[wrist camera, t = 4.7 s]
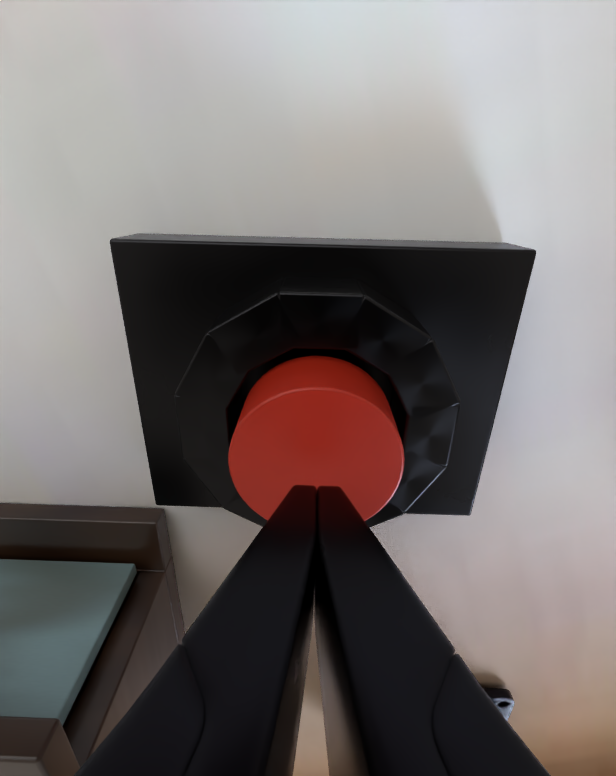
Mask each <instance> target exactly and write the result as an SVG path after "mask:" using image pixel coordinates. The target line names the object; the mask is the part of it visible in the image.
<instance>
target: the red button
mask: <svg viewBox="0 0 616 776" xmlns="http://www.w3.org/2000/svg"><path fill="white" fill-rule="evenodd" d="M228 464H229V470H230V475H231V478H232V481H233V483H234V486H235V488H236V490H237V492H238V493H239V495H240V496H241V498H242V499H243V500H244V501H245V502H246V504H247V505H248V506H249V507H250V508H251V509H252V510H254V511H255V512H256V513H257V514H259V515H260V516H262V517H263V518H264V519H266V520H269V518H270V517H271V515H272V514H273V513H274V511H275V510H276V509H277V507H278V506H279V504H280V503H281V502H282V500H283V499H284V498H285V496H286V495H287V493H288V492H289V491H290V489H291V488H292V487H293V486H294V485H313V486H315V487H316V489H317V488H318V487H319V486H339V487H341V488H342V490H343V491H344V493H345V494H346V495H347V497H348V498H349V500H350V501H351V502H352V504H353V505H354V507H355V508H356V510H357V511H358V512H359V514H360V515H361V517H362V518H363V519H364V521H366V520H367V519H369V518H371V517H372V516H374V515H375V514H376V513H378V512H379V511H380V510H381V509H382V508H383V507H384V506H385V505H386V504H387V503H388V502H389V501H390V499H391V498H392V497H393V495H394V493H395V492H396V490H397V488H398V486H399V483H400V481H401V478H402V474H403V470H404V449H403V445H402V441H401V438H400V435H399V432H398V429H397V426H396V423H395V420H394V417H393V415H392V412H391V409H390V406H389V403H388V401H387V398H386V396H385V394H384V392H383V390H382V389H381V387H380V386H379V385H378V383H377V382H376V381H375V380H374V379H373V378H372V377H371V376H370V375H369V374H368V373H367V372H365V371H364V370H362V369H361V368H359V367H358V366H356V365H354V364H352V363H350V362H347V361H344V360H341V359H338V358H333V357H327V356H305V357H299V358H295V359H291V360H288V361H286V362H283V363H281V364H279V365H277V366H275V367H274V368H272V369H270V370H269V371H268V372H266V373H265V374H264V375H263V376H262V377H261V378H260V379H259V380H258V381H257V382H256V383H255V384H254V386H253V387H252V388H251V390H250V392H249V394H248V396H247V398H246V400H245V403H244V406H243V408H242V411H241V414H240V417H239V420H238V422H237V425H236V428H235V431H234V433H233V436H232V439H231V442H230V447H229V453H228Z"/></svg>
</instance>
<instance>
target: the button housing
mask: <svg viewBox="0 0 616 776" xmlns="http://www.w3.org/2000/svg"><path fill="white" fill-rule="evenodd" d="M110 246H111V252H112V258H113V263H114V269H115V275H116V280H117V286H118V292H119V297H120V303H121V309H122V314H123V320H124V326H125V331H126V337H127V343H128V348H129V354H130V360H131V365H132V371H133V377H134V382H135V388H136V394H137V399H138V405H139V411H140V416H141V422H142V428H143V434H144V439H145V445H146V451H147V456H148V462H149V468H150V473H151V479H152V485H153V490H154V496H155V502H156V505H167V506H197V507H223V508H224V509H226V510H228V511H230V512H233V513H235V514H237V515H239V516H241V517H243V518H245V519H248V520H250V521H252V522H254V523H256V524H258V525H261V526H264V525H265V524H266V522H267V521H268V520H266V519H264V518H263V517H262V516H260V515H259V514H257V513H256V512H255V511H254V510H252V509H251V508H250V507H249V506H248V505H247V504H246V502H245V501H244V500H243V499H242V498H241V496H240V495H239V493H238V492H237V490H236V488H235V486H234V483H233V481H232V478H231V475H230V470H229V464H228V453H229V447H230V442H231V439H232V436H233V433H234V431H235V428H236V425H237V422H238V420H239V417H240V414H241V411H242V408H243V406H244V403H245V400H246V398H247V396H248V394H249V392H250V390H251V388H252V387H253V386H254V384H255V383H256V382H257V381H258V380H259V379H260V378H261V377H262V376H263V375H264V374H265V373H266V372H268V371H269V370H270V369H272V368H274V367H275V366H277V365H279V364H281V363H283V362H286V361H288V360H291V359H295V358H299V357H305V356H327V357H333V358H338V359H341V360H344V361H347V362H350V363H352V364H354V365H356V366H358V367H359V368H361V369H362V370H364V371H365V372H367V373H368V374H369V375H370V376H371V377H372V378H373V379H374V380H375V381H376V382H377V383H378V385H379V386H380V387H381V389H382V390H383V392H384V394H385V396H386V398H387V401H388V403H389V406H390V409H391V412H392V415H393V417H394V420H395V423H396V426H397V429H398V432H399V435H400V438H401V441H402V445H403V449H404V470H403V474H402V478H401V481H400V483H399V486H398V488H397V490H396V492H395V493H394V495H393V497H392V498H391V499H390V501H389V502H388V503H387V504H386V505H385V506H384V507H383V508H382V509H381V510H380V511H379V512H378V513H376V514H375V515H374V516H372V517H371V518H369V519H367V520H366V521H365V522H366V524H367V525H368V527H372V526H374V525H377V524H379V523H382V522H385V521H387V520H390V519H392V518H395V517H398V516H400V515H403V514H404V513H409V514H439V515H470V514H471V511H472V507H473V503H474V499H475V495H476V491H477V487H478V483H479V479H480V475H481V471H482V467H483V463H484V459H485V455H486V451H487V447H488V443H489V439H490V435H491V431H492V427H493V423H494V419H495V415H496V411H497V407H498V403H499V399H500V395H501V391H502V387H503V383H504V379H505V375H506V371H507V367H508V363H509V359H510V355H511V351H512V347H513V343H514V339H515V335H516V331H517V327H518V323H519V319H520V315H521V311H522V308H523V304H524V300H525V296H526V292H527V288H528V284H529V280H530V276H531V272H532V268H533V264H534V260H535V256H536V251H535V250H534V249H529V248H525V247H521V246H517V245H512V244H508V243H490V242H451V241H412V240H373V239H334V238H295V237H256V236H217V235H178V234H134V235H129V236H124V237H118V238H113V239H111V240H110Z"/></svg>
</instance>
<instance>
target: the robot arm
mask: <svg viewBox="0 0 616 776" xmlns="http://www.w3.org/2000/svg"><path fill="white" fill-rule="evenodd" d="M313 610H314V620H315V634H316V644H317V654H318V664H319V675H320V685H321V695H322V705H323V715H324V725H325V735H326V745H327V755H328V766H329V776H551V775H550V774H549V773H548V772H547V770H546V769H545V768H544V767H543V765H542V764H541V763H540V762H539V761H538V759H537V758H536V757H535V756H534V754H533V753H532V752H531V751H530V749H529V748H528V747H527V746H526V745H525V743H524V742H523V741H522V740H521V738H520V737H519V736H518V735H517V733H516V732H515V731H514V730H513V728H512V727H511V726H510V724H509V723H508V722H507V721H508V718H509V716H510V714H511V711H512V709H513V706H514V700H513V698H512V695H511V693H510V691H509V690H507V689H497V688H482V687H481V685H480V684H479V682H478V681H477V680H476V678H475V677H474V675H473V674H472V672H471V671H470V670H469V668H468V667H467V665H466V664H465V662H464V661H463V660H462V658H461V657H460V655H458V654H454V652H455V649H454V647H453V646H452V644H451V643H450V641H449V640H448V639H447V637H446V636H445V634H444V633H443V632H442V630H441V629H440V627H439V626H438V624H437V623H436V622H435V620H434V619H433V617H432V616H431V615H430V613H429V612H428V610H427V609H426V607H425V606H424V605H423V603H422V602H421V600H420V599H419V597H418V596H417V595H416V593H415V592H414V590H413V589H412V588H411V586H410V585H409V583H408V582H407V580H406V579H405V578H404V576H403V575H402V573H401V572H400V571H399V569H398V568H397V566H396V565H395V563H394V562H393V561H392V559H391V558H390V556H389V555H388V554H387V552H386V551H385V549H384V548H383V546H382V545H381V544H380V542H379V541H378V539H377V538H376V536H375V535H374V534H373V532H372V531H371V529H370V528H369V527H368V525H367V524H366V522H365V521H364V519H363V518H362V517H361V515H360V514H359V512H358V511H357V510H356V508H355V507H354V505H353V504H352V502H351V501H350V500H349V498H348V497H347V495H346V494H345V493H344V491H343V490H342V488H341V487H339V486H319V487H318V488H317V489H316V487H315V486H313V485H294V486H293V487H292V488H291V489H290V491H289V492H288V493H287V495H286V496H285V498H284V499H283V500H282V502H281V503H280V504H279V506H278V507H277V509H276V510H275V511H274V513H273V514H272V515H271V517H270V518H269V520H268V521H267V522H266V524H265V525H264V526H263V528H262V529H261V531H260V532H259V533H258V535H257V536H256V537H255V539H254V540H253V542H252V543H251V544H250V546H249V547H248V549H247V550H246V551H245V553H244V554H243V555H242V557H241V558H240V560H239V561H238V562H237V564H236V565H235V566H234V568H233V569H232V571H231V572H230V573H229V575H228V576H227V577H226V579H225V580H224V582H223V583H222V584H221V586H220V587H219V588H218V590H217V591H216V593H215V594H214V595H213V597H212V598H211V600H210V601H209V602H208V604H207V605H206V606H205V608H204V609H203V611H202V612H201V613H200V615H199V616H198V617H197V619H196V620H195V622H194V623H193V624H192V626H191V627H190V628H189V630H188V631H187V633H186V634H185V635H184V637H183V638H182V644H178V645H177V646H176V647H175V649H174V650H173V651H172V653H171V654H170V656H169V657H168V658H167V660H166V661H165V663H164V664H163V665H162V667H161V668H160V669H159V671H158V672H157V674H156V675H155V676H154V677H153V679H152V680H151V681H150V683H149V684H148V685H147V687H146V688H145V689H144V690H143V692H142V693H141V694H140V696H139V697H138V698H137V700H136V701H135V702H134V704H133V705H132V706H131V707H130V709H129V710H128V711H127V713H126V714H125V715H124V716H123V718H122V719H121V720H120V721H119V722H118V724H117V725H116V726H115V727H114V728H113V729H112V731H111V732H110V733H109V734H108V735H107V737H106V738H105V739H104V740H103V741H102V743H101V744H100V745H99V746H98V747H97V748H96V750H95V751H94V752H93V753H92V754H91V756H90V757H89V758H88V759H87V760H86V762H85V763H84V764H83V765H82V766H81V767H80V769H79V770H78V771H77V772H76V773H75V774H74V775H73V776H293V768H294V761H295V753H296V746H297V738H298V731H299V723H300V716H301V708H302V701H303V693H304V686H305V678H306V671H307V664H308V656H309V649H310V641H311V634H312V624H313Z"/></svg>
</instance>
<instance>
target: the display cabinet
mask: <svg viewBox="0 0 616 776" xmlns="http://www.w3.org/2000/svg"><path fill="white" fill-rule="evenodd" d="M184 635H185V631H184V625H183V619H182V613H181V607H180V601H179V595H178V589H177V583H176V577H175V571H174V565H173V559H172V555H171V549H170V543H169V537H168V531H167V525H166V519H165V513H164V509H162V508H132V507H102V506H72V505H41V504H11V503H0V776H73V775H74V774H75V773H76V772H77V771H78V770H79V769H80V767H81V766H82V765H83V764H84V763H85V762H86V760H87V759H88V758H89V757H90V756H91V754H92V753H93V752H94V751H95V750H96V748H97V747H98V746H99V745H100V744H101V743H102V741H103V740H104V739H105V738H106V737H107V735H108V734H109V733H110V732H111V731H112V729H113V728H114V727H115V726H116V725H117V724H118V722H119V721H120V720H121V719H122V718H123V716H124V715H125V714H126V713H127V711H128V710H129V709H130V707H131V706H132V705H133V704H134V702H135V701H136V700H137V698H138V697H139V696H140V694H141V693H142V692H143V690H144V689H145V688H146V687H147V685H148V684H149V683H150V681H151V680H152V679H153V677H154V676H155V675H156V674H157V672H158V671H159V669H160V668H161V667H162V665H163V664H164V663H165V661H166V660H167V658H168V657H169V656H170V654H171V653H172V651H173V650H174V649H175V647H176V646H177V645H178V644H182V638H183V637H184Z"/></svg>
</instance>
